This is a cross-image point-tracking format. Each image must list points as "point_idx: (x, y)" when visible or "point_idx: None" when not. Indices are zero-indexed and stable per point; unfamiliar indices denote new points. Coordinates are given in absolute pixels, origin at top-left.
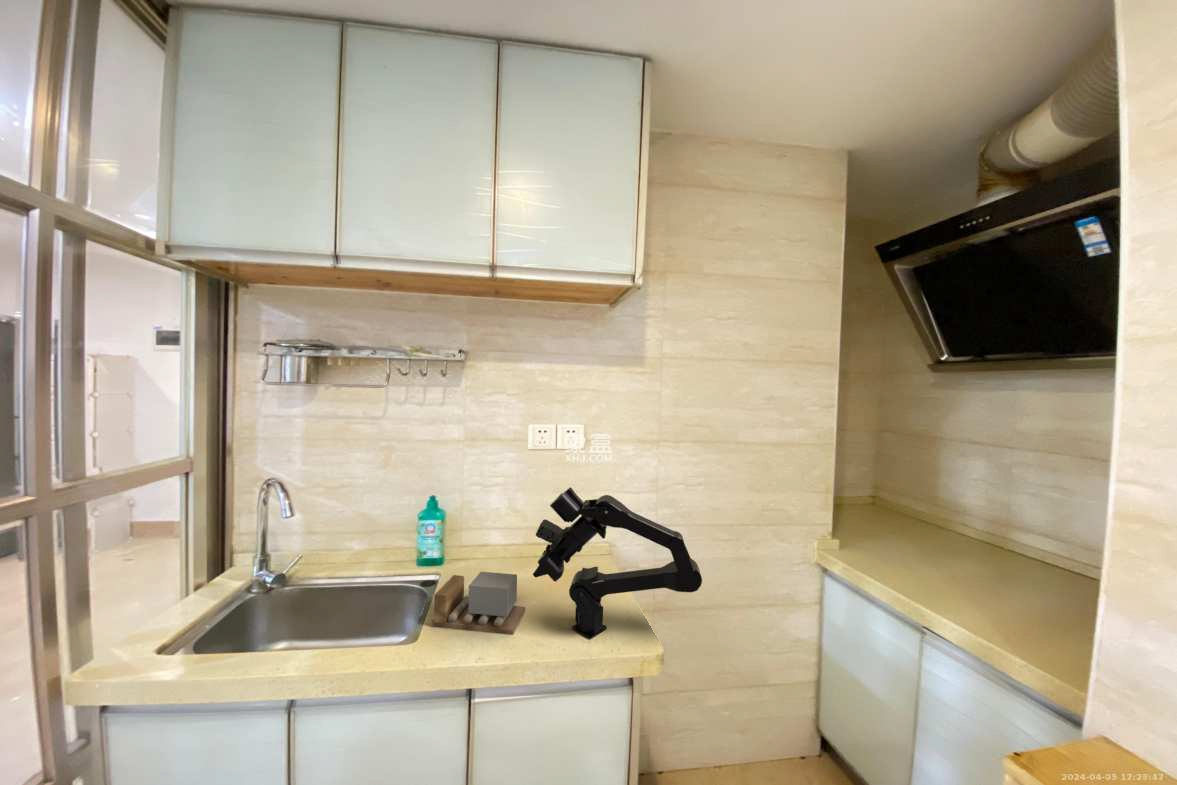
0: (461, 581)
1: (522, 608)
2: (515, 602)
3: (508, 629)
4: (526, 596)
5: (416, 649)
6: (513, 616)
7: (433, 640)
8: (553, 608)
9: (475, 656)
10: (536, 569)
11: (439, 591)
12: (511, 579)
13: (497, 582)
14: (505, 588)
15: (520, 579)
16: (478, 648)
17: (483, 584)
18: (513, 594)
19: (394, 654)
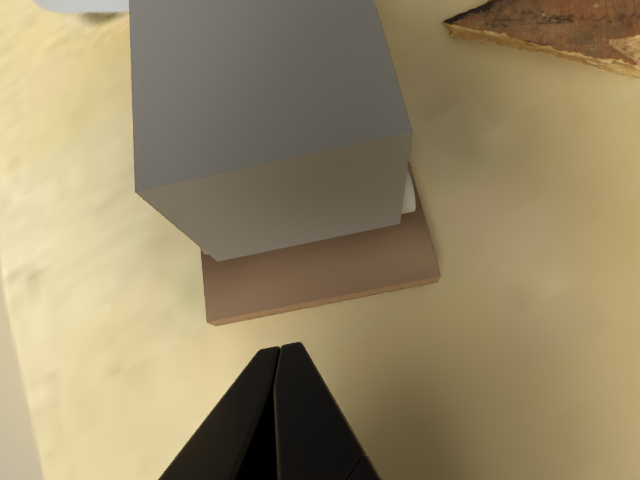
0: None
1: (416, 268)
2: (376, 228)
3: (205, 298)
4: (587, 213)
5: (55, 53)
6: (324, 262)
7: (111, 65)
8: (546, 430)
9: (43, 254)
10: (206, 418)
11: None
12: (302, 137)
13: (218, 71)
14: (136, 174)
15: None
16: (92, 236)
17: (160, 10)
18: (323, 209)
19: (23, 17)
